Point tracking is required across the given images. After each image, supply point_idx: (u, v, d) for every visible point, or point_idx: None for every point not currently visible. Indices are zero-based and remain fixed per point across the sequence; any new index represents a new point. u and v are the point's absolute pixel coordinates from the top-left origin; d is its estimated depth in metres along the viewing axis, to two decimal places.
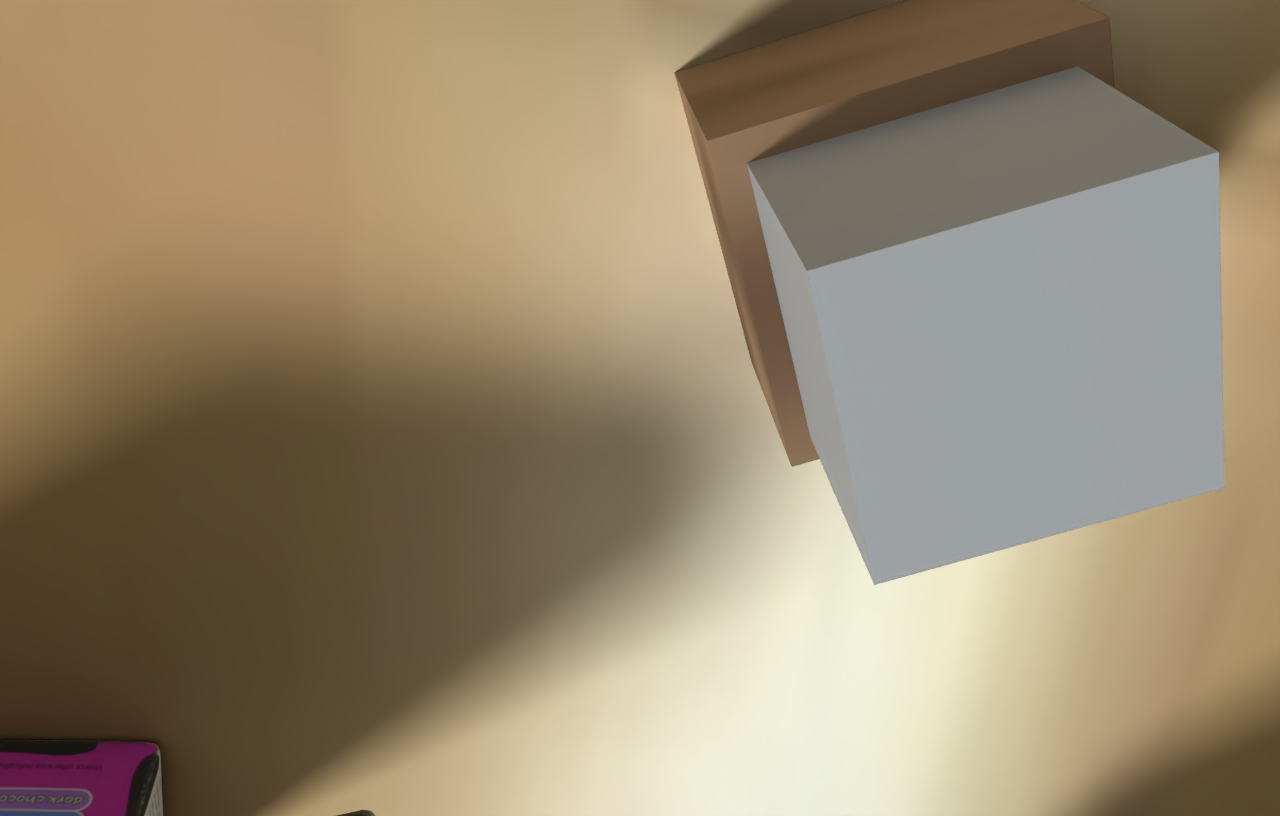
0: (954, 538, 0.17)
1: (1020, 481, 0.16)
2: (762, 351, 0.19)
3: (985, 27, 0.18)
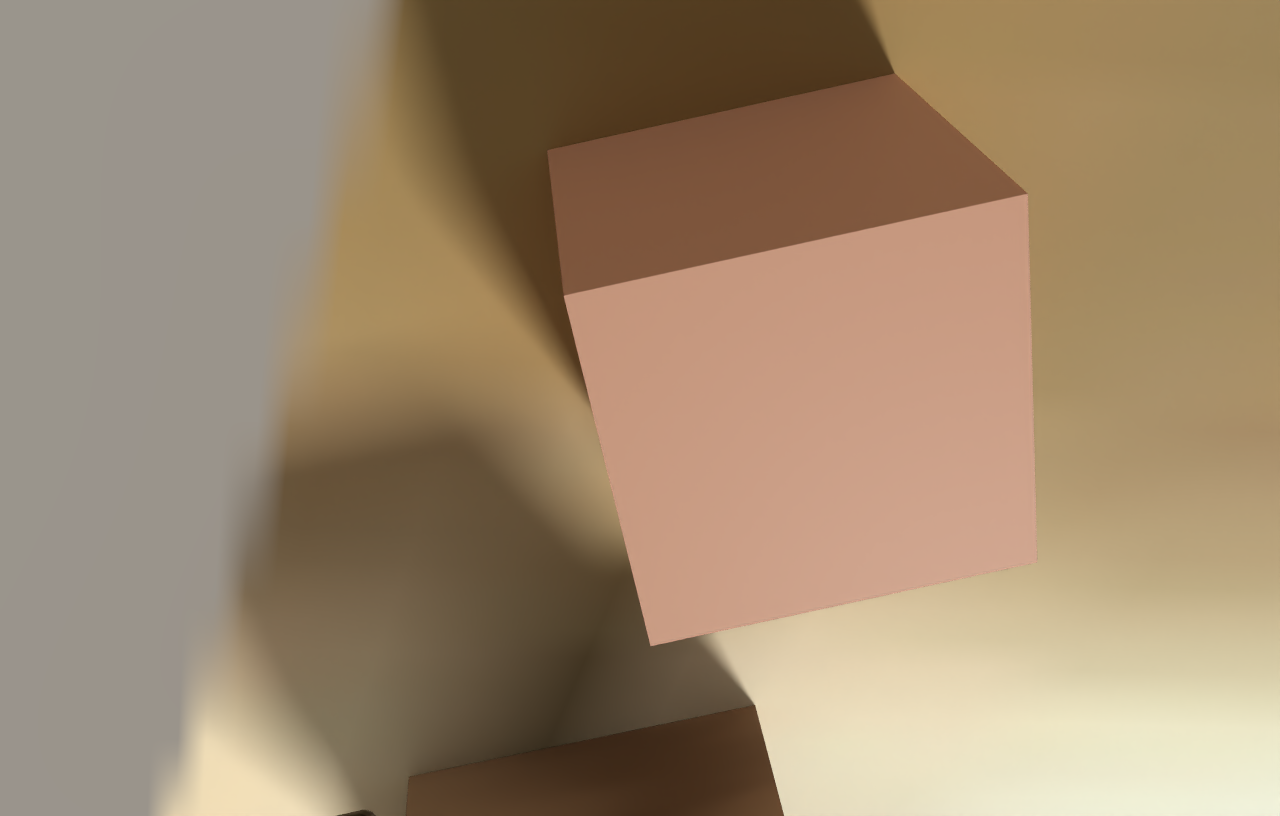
0: None
1: None
2: None
3: None
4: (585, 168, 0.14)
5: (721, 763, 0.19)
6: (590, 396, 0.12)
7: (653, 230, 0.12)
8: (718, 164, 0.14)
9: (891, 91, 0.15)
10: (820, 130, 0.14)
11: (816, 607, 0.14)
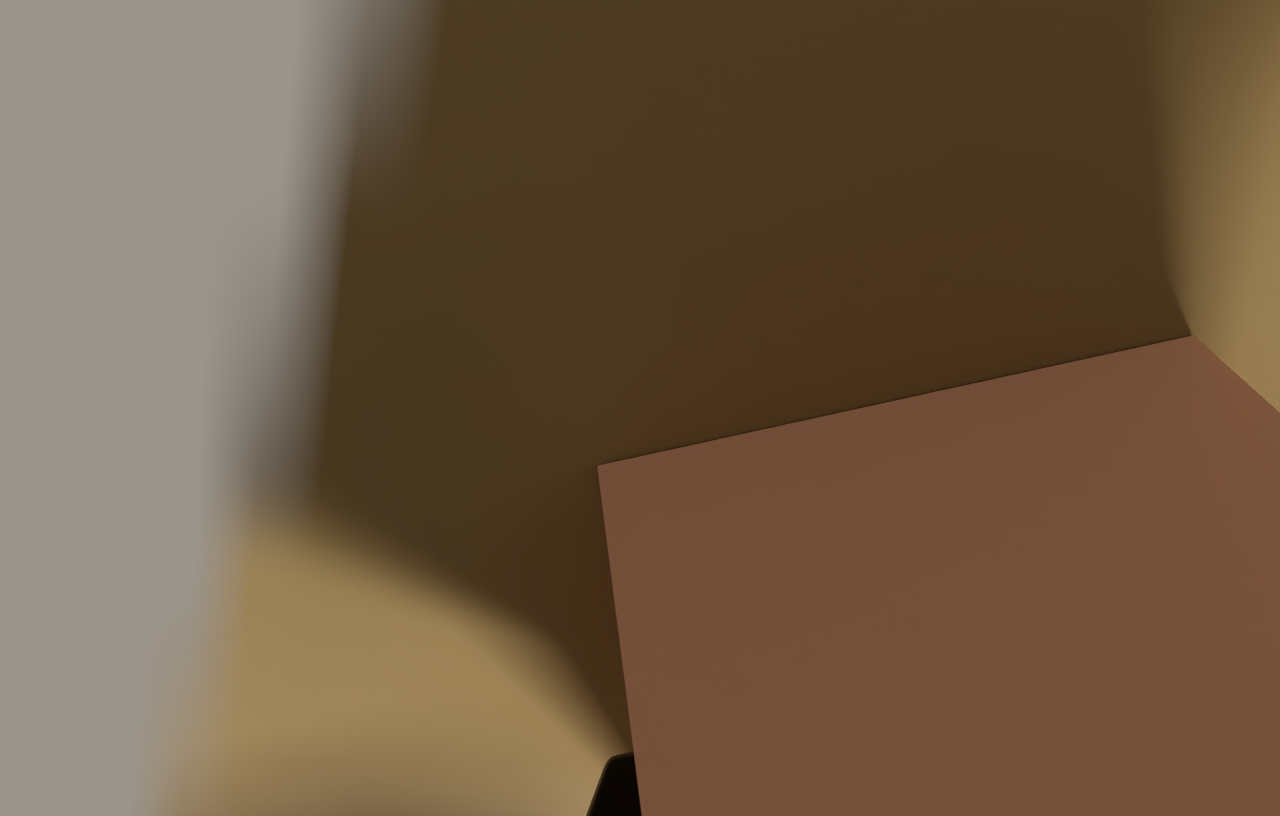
0: None
1: None
2: None
3: None
4: (671, 539, 0.08)
5: None
6: None
7: (841, 788, 0.06)
8: (931, 571, 0.07)
9: (1210, 390, 0.08)
10: (1111, 491, 0.08)
11: None
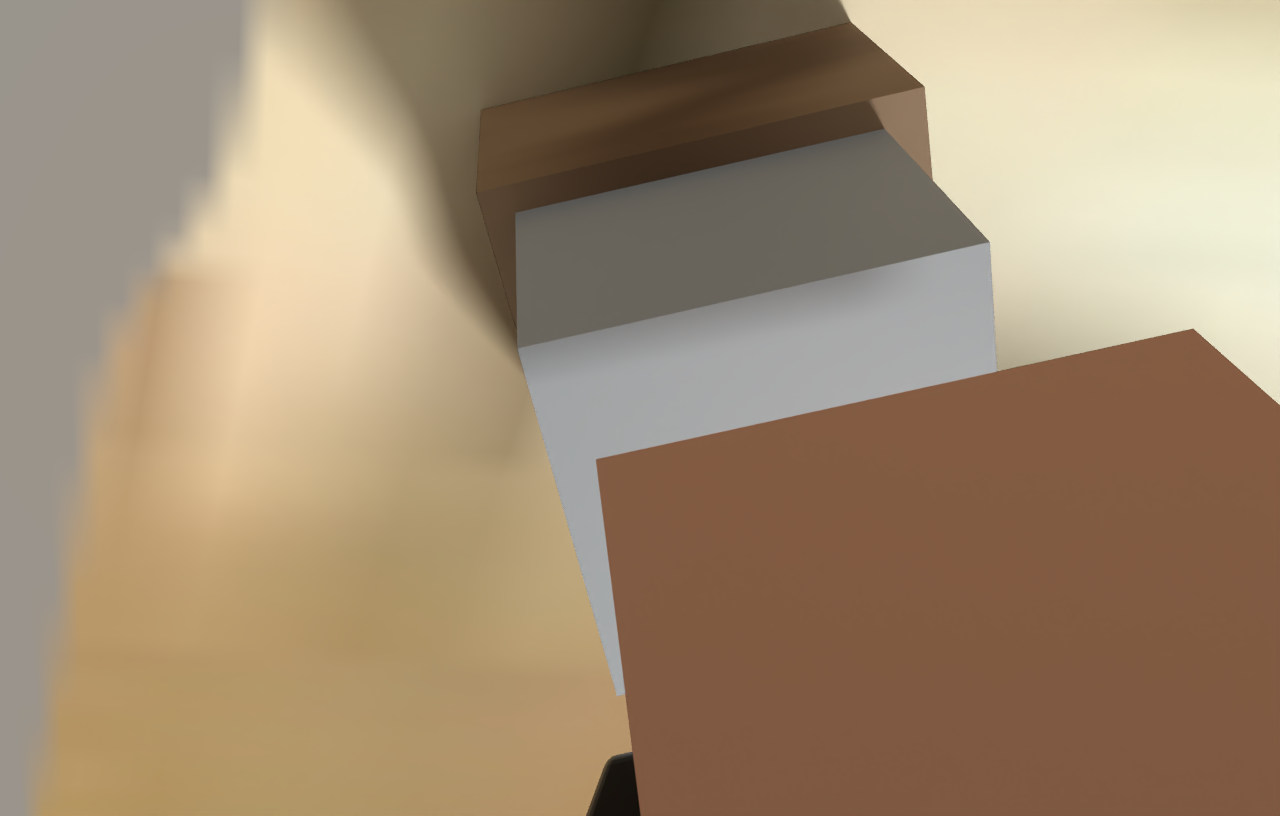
0: None
1: None
2: None
3: None
4: (670, 532, 0.08)
5: (820, 51, 0.18)
6: None
7: (839, 781, 0.06)
8: (930, 563, 0.07)
9: (1210, 383, 0.08)
10: (1111, 484, 0.07)
11: None
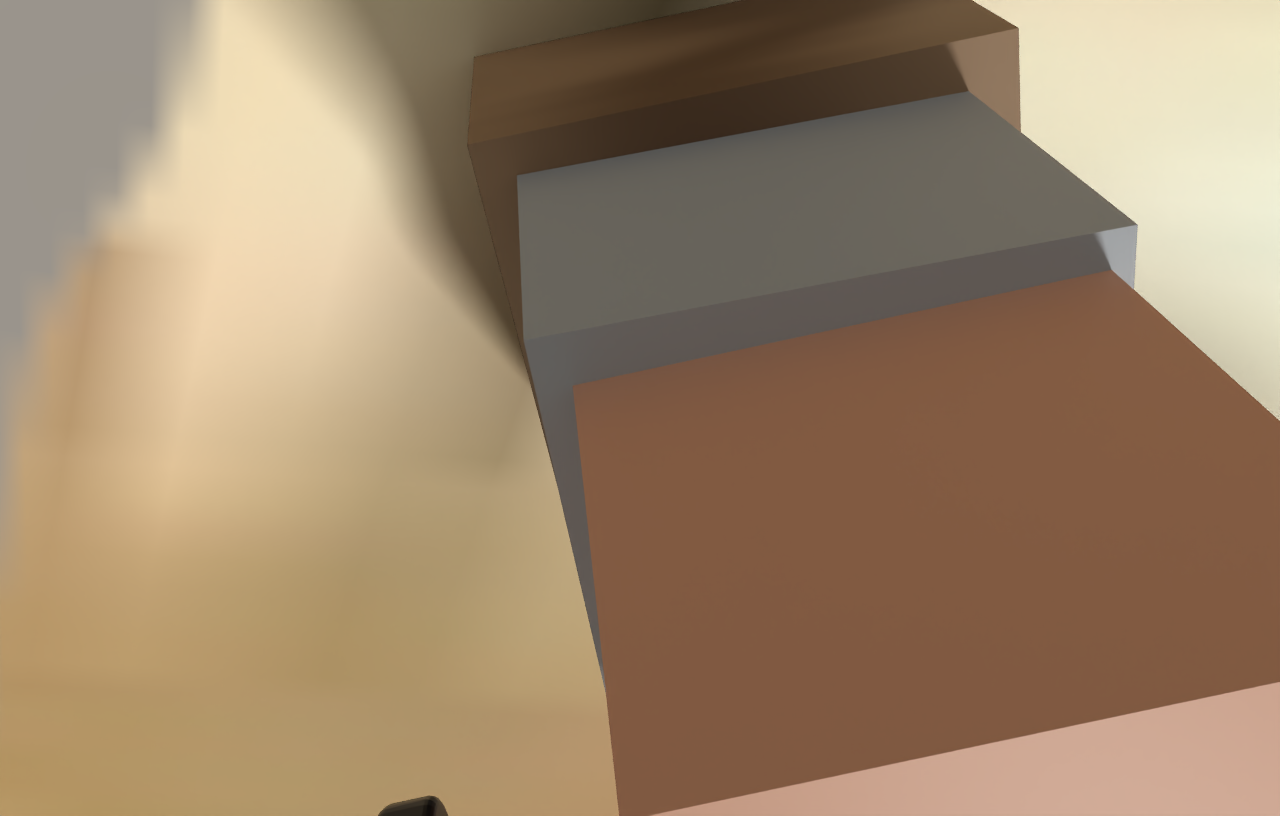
0: None
1: None
2: None
3: None
4: (637, 443, 0.09)
5: None
6: None
7: (774, 630, 0.07)
8: (864, 462, 0.08)
9: (1123, 313, 0.09)
10: (1026, 396, 0.08)
11: None
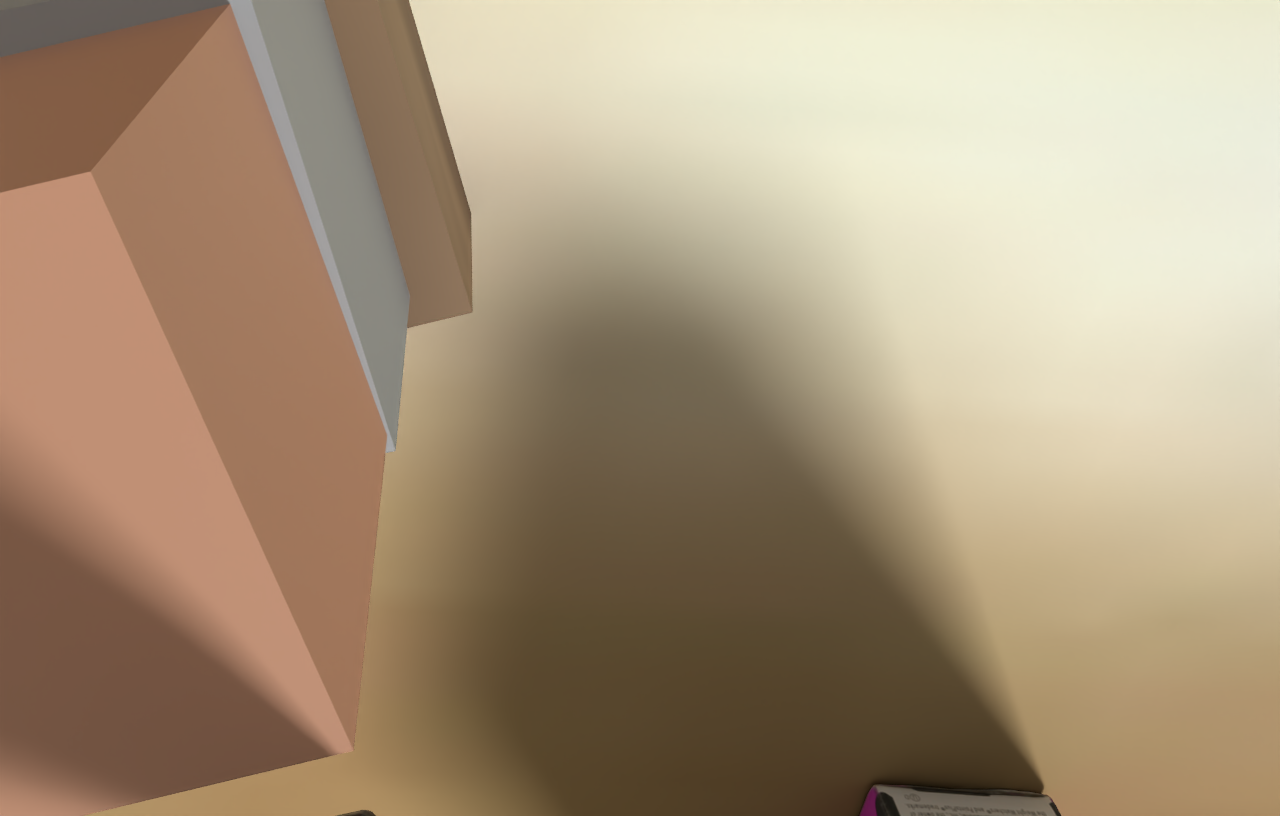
0: None
1: None
2: None
3: None
4: None
5: None
6: None
7: None
8: None
9: (187, 27, 0.10)
10: (22, 86, 0.09)
11: None
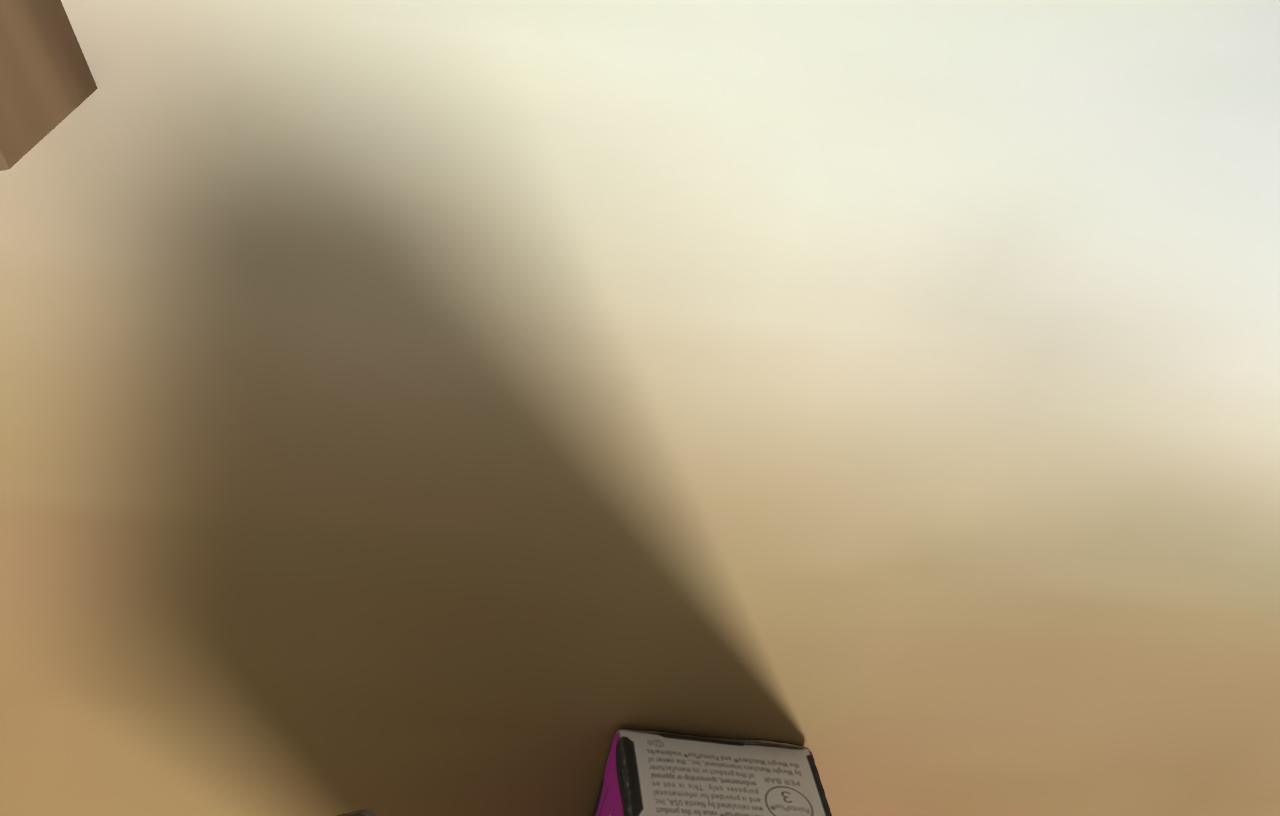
0: None
1: None
2: None
3: None
4: None
5: None
6: None
7: None
8: None
9: None
10: None
11: None
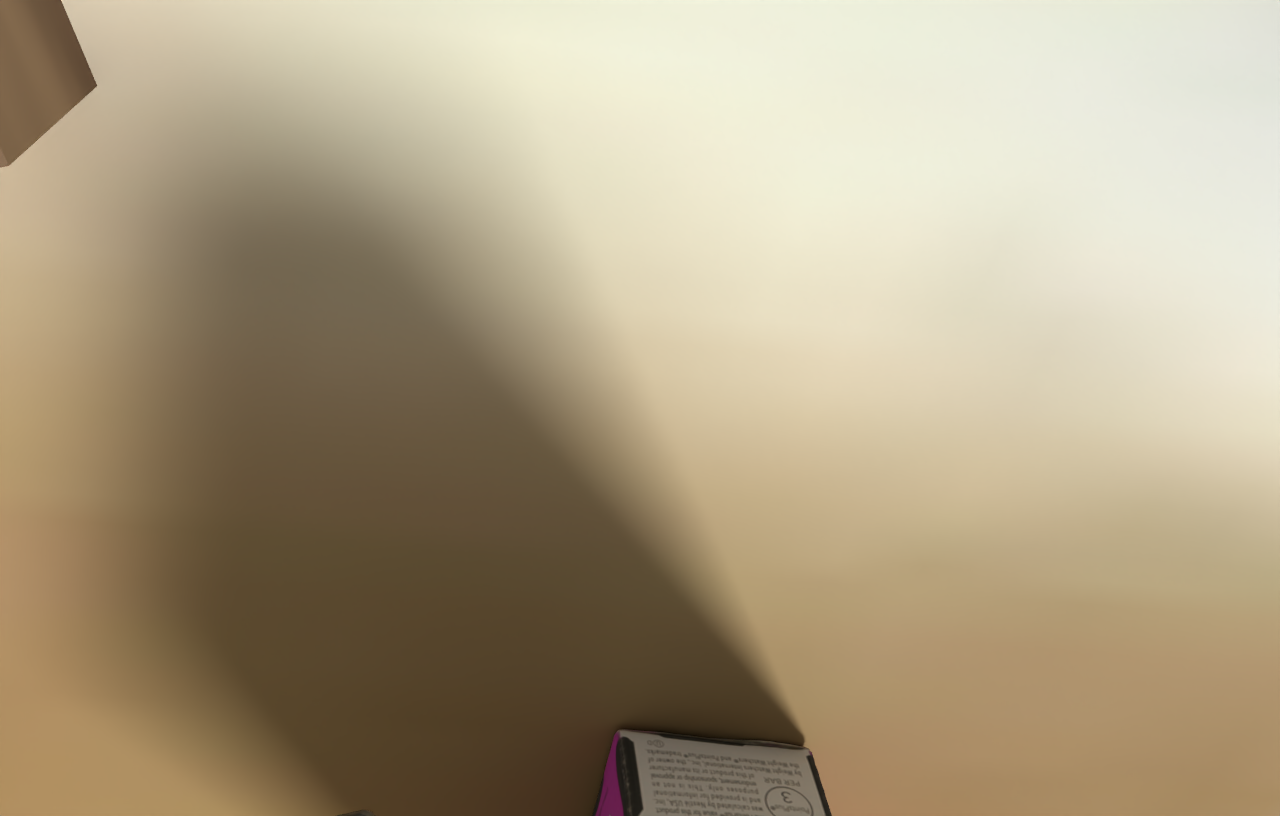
0: None
1: None
2: None
3: None
4: None
5: None
6: None
7: None
8: None
9: None
10: None
11: None
